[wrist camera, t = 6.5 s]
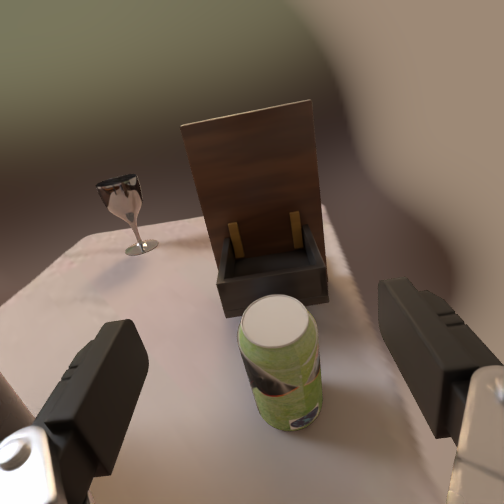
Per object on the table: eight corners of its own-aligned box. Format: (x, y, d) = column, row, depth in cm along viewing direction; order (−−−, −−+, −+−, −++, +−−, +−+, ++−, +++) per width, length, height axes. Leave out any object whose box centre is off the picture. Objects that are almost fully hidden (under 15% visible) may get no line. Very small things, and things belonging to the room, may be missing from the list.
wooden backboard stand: (349, 336, 36) (335, 105, 25) (219, 354, 37) (152, 141, 27) (318, 257, 53) (302, 97, 42) (228, 272, 54) (190, 120, 43)
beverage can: (307, 370, 33) (292, 271, 28) (343, 435, 27) (334, 322, 21) (248, 391, 32) (222, 293, 27) (271, 463, 26) (242, 354, 20)
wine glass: (158, 250, 67) (133, 180, 60) (120, 259, 67) (90, 189, 60) (161, 236, 74) (139, 171, 67) (127, 244, 74) (101, 180, 67)
